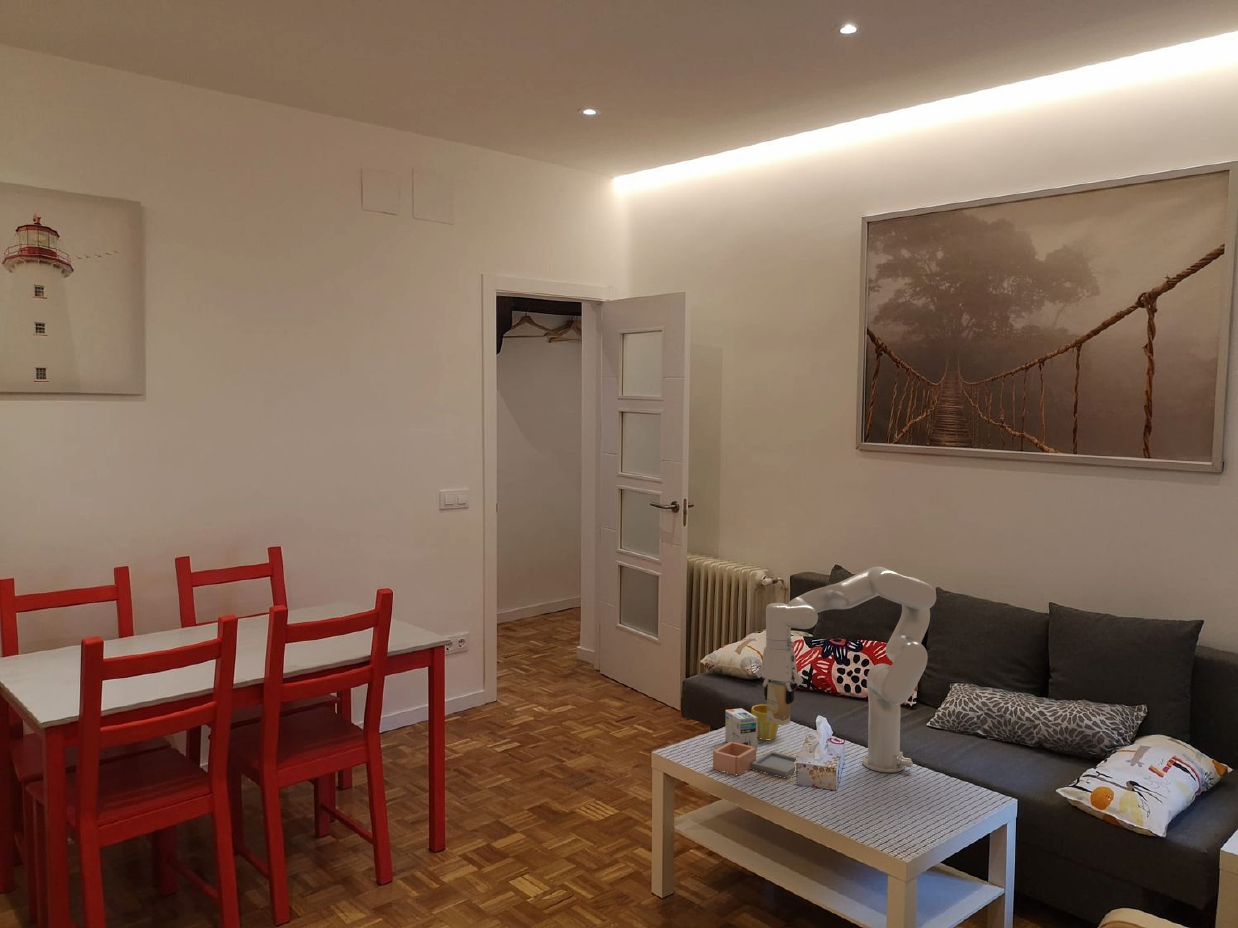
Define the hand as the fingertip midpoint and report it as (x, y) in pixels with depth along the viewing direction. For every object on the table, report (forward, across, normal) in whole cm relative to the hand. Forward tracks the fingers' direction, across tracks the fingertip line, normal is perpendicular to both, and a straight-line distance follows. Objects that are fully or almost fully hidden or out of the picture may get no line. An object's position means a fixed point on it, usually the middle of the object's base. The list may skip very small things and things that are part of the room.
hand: (779, 700), depth 272 cm
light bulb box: (+21, +19, -10) cm, 30 cm away
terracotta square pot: (+21, +11, +8) cm, 25 cm away
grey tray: (+21, 0, 0) cm, 21 cm away
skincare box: (+7, 0, 0) cm, 7 cm away
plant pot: (+21, +16, -22) cm, 35 cm away
